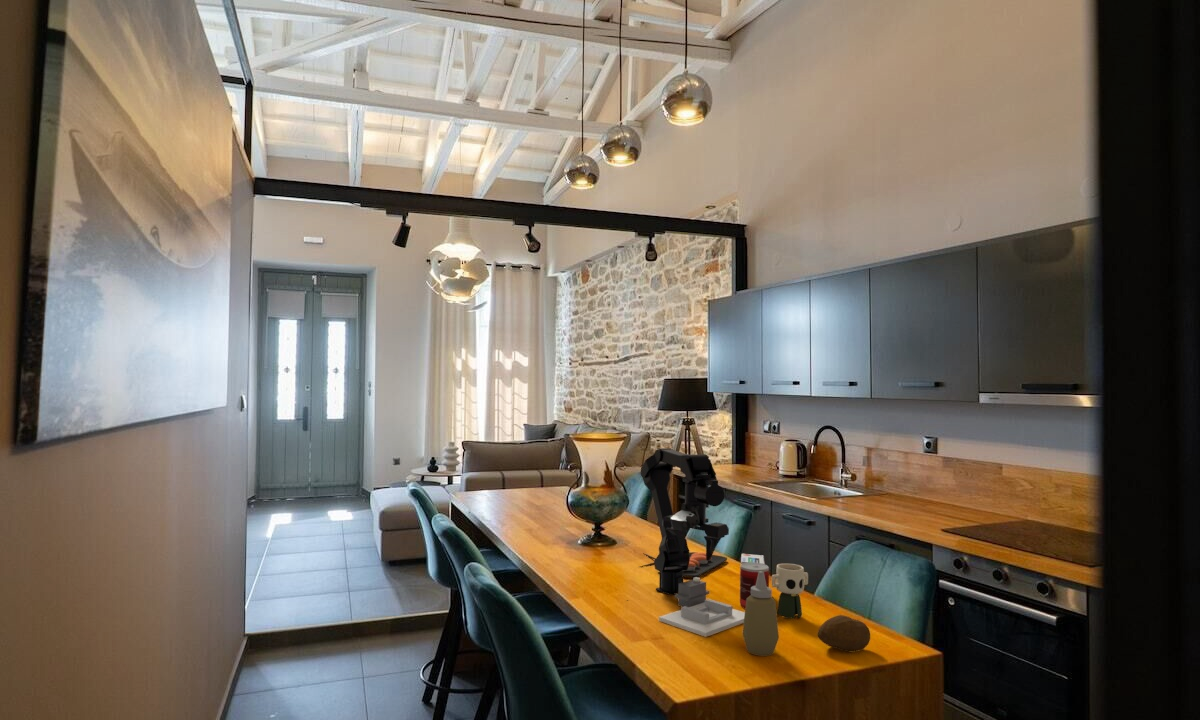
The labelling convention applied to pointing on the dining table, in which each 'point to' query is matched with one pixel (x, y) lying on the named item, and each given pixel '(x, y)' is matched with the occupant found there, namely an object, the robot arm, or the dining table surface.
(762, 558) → the light bulb box
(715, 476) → the robot arm
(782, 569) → the character mug
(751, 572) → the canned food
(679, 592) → the block
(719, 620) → the plate
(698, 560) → the sushi plate
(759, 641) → the squeeze bottle
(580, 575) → the dining table surface
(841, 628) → the potato
